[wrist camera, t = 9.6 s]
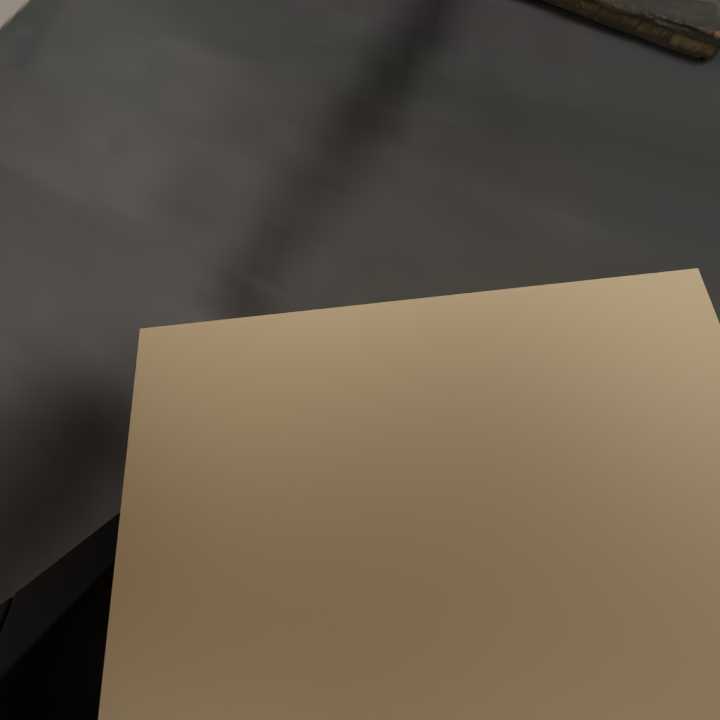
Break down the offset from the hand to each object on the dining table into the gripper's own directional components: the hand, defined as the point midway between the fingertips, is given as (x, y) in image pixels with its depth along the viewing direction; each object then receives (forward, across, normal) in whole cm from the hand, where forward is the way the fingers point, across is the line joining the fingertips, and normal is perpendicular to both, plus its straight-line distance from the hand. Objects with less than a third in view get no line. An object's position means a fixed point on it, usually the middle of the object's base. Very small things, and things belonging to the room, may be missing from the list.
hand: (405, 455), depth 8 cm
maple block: (+4, 0, +6) cm, 8 cm away
